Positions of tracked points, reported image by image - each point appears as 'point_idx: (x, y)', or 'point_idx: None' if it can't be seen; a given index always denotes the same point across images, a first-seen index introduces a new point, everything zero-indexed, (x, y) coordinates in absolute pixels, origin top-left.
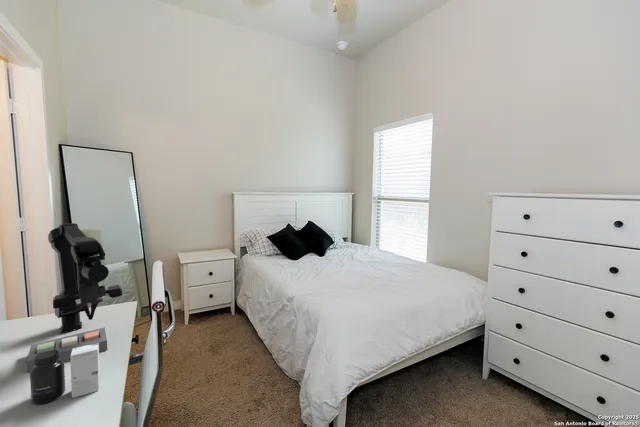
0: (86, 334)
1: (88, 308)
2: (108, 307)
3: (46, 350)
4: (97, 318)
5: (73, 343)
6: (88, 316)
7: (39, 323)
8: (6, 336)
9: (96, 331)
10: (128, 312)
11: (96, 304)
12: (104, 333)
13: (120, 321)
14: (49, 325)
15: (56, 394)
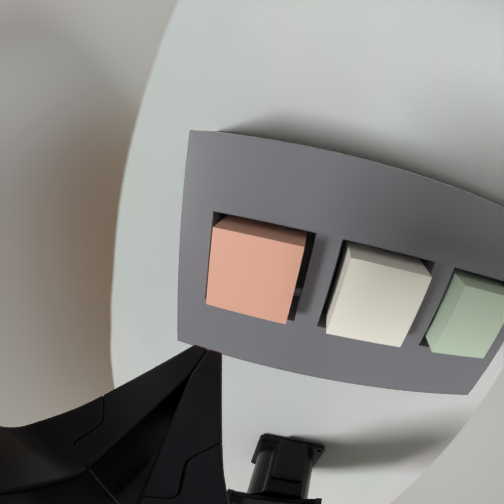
0: (277, 304)
1: (149, 476)
2: None
3: (481, 284)
4: None
5: (369, 255)
6: (211, 383)
7: (334, 499)
8: (409, 484)
9: (217, 299)
10: None
11: (9, 438)
12: (185, 259)
13: None
14: (323, 487)
15: None
